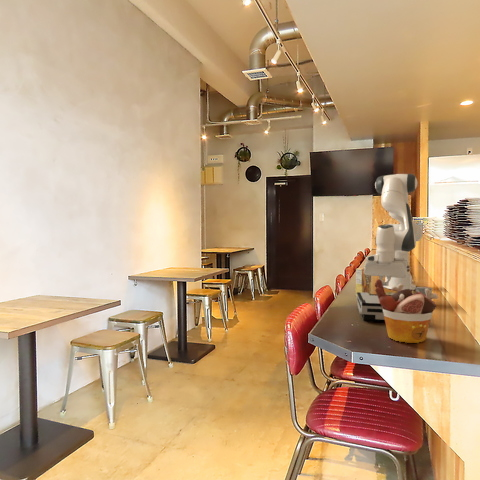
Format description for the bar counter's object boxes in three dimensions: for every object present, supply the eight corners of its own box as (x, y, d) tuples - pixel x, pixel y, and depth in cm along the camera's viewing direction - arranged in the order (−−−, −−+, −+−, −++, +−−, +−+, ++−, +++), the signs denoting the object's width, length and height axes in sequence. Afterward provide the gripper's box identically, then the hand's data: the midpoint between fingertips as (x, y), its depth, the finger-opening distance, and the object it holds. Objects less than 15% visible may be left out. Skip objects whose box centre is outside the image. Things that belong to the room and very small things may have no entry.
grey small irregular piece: (417, 302, 196) (417, 286, 196) (432, 304, 192) (433, 287, 191) (414, 304, 190) (414, 288, 190) (429, 306, 186) (430, 289, 186)
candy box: (364, 294, 217) (364, 267, 217) (371, 295, 214) (371, 267, 213) (355, 296, 212) (355, 268, 211) (362, 297, 208) (362, 269, 208)
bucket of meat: (436, 335, 137) (437, 279, 136) (438, 349, 122) (439, 285, 121) (375, 329, 145) (376, 276, 144) (371, 342, 130) (371, 282, 129)
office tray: (403, 308, 183) (403, 291, 182) (418, 326, 152) (418, 305, 151) (356, 306, 187) (356, 289, 187) (361, 323, 156) (361, 302, 156)
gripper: (409, 258, 190) (408, 286, 190) (367, 256, 202) (366, 283, 202) (405, 259, 185) (405, 288, 185) (362, 257, 197) (362, 284, 197)
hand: (385, 285), depth 194 cm, fingers closed
